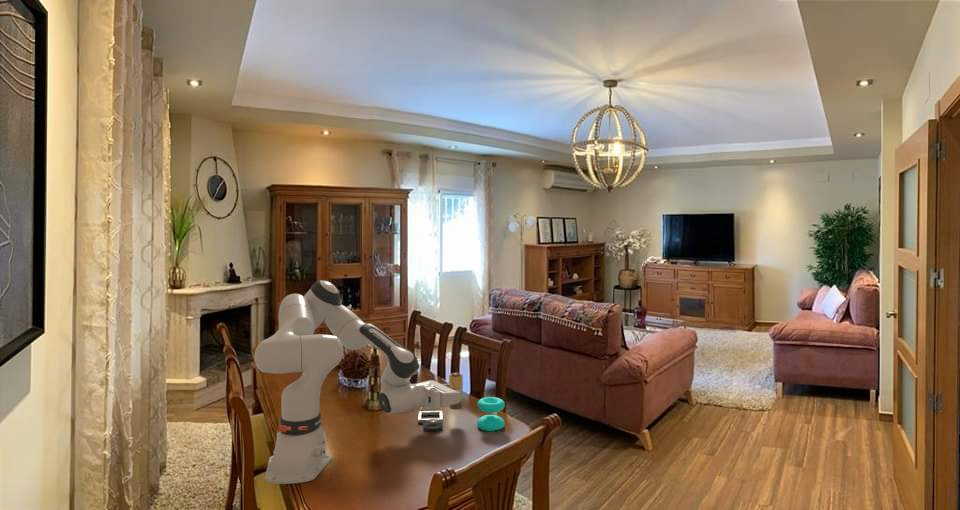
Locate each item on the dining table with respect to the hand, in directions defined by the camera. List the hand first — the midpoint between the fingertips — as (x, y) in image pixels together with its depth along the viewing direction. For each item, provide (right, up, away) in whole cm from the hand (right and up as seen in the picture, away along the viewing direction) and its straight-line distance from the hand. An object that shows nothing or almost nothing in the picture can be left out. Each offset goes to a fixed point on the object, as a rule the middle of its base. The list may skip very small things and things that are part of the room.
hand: (456, 388), depth 193 cm
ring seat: (-10, -13, +4) cm, 17 cm away
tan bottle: (0, -7, 0) cm, 7 cm away
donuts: (+12, -14, -3) cm, 19 cm away
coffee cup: (-23, -11, +32) cm, 41 cm away
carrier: (-9, -13, -2) cm, 16 cm away
